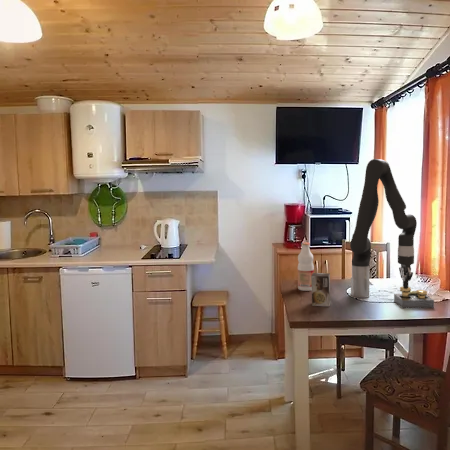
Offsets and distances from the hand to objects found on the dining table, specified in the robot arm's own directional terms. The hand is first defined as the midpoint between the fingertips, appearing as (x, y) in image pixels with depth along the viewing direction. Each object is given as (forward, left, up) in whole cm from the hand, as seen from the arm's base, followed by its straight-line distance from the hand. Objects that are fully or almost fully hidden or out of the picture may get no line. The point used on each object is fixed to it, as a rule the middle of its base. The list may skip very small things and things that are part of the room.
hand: (405, 287), depth 205 cm
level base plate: (+4, 0, -9) cm, 10 cm away
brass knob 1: (0, 0, -7) cm, 7 cm away
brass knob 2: (+8, 0, -9) cm, 12 cm away
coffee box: (-42, +2, -9) cm, 43 cm away
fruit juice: (-46, +32, -9) cm, 57 cm away
